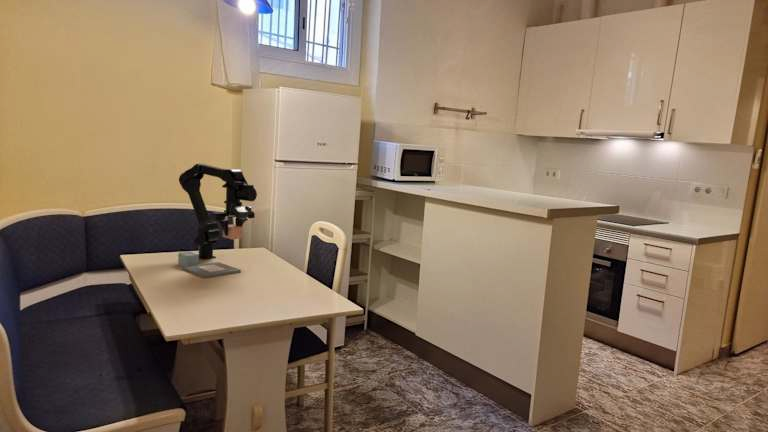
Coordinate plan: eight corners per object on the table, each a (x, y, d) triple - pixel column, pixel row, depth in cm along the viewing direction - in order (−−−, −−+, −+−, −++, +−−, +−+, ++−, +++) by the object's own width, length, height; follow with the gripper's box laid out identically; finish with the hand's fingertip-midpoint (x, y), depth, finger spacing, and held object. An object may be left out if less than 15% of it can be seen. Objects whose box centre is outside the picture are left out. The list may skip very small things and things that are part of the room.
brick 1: (178, 264, 210) (178, 252, 210) (189, 263, 214) (189, 251, 213) (186, 268, 206) (187, 256, 205) (198, 266, 210) (198, 254, 209)
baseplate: (182, 269, 203) (182, 266, 203) (218, 264, 215) (218, 261, 215) (204, 278, 193) (204, 275, 193) (240, 272, 205) (240, 269, 205)
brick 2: (222, 236, 218) (222, 225, 218) (232, 235, 222) (233, 224, 222) (231, 239, 214) (231, 227, 213) (241, 238, 218) (242, 227, 217)
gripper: (224, 202, 204) (223, 240, 206) (262, 200, 218) (261, 236, 220) (209, 198, 211) (208, 235, 213) (247, 197, 225) (246, 232, 227)
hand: (232, 235), depth 218 cm, fingers closed on brick 2, 5 cm apart
